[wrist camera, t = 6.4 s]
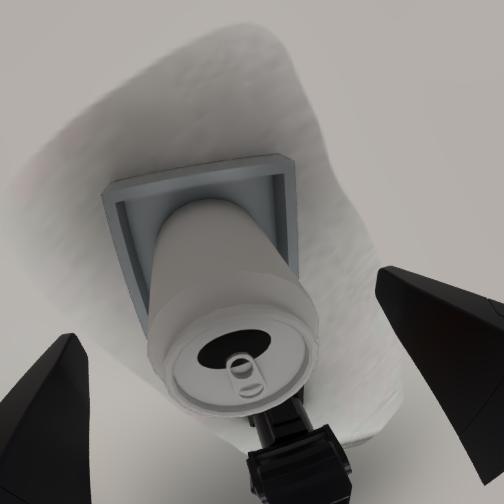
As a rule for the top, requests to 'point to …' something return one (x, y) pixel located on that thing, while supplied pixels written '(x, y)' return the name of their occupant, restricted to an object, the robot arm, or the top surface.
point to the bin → (195, 189)
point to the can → (227, 314)
